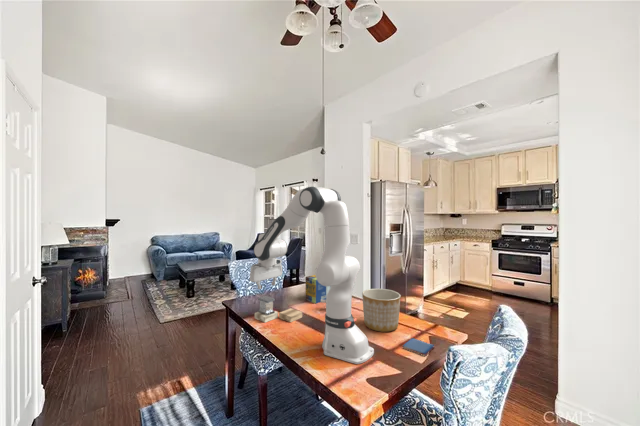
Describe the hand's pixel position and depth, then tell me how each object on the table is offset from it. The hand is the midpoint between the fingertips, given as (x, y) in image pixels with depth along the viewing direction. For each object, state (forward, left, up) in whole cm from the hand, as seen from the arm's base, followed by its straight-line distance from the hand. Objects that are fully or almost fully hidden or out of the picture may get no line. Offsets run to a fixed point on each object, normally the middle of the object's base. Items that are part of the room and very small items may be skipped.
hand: (266, 287), depth 150 cm
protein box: (-2, -43, -18) cm, 46 cm away
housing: (0, 0, -14) cm, 14 cm away
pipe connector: (-19, -32, -17) cm, 41 cm away
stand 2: (-10, -9, -17) cm, 22 cm away
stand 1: (0, 0, -17) cm, 17 cm away
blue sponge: (-76, -21, -18) cm, 81 cm away
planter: (-53, -32, -17) cm, 64 cm away
